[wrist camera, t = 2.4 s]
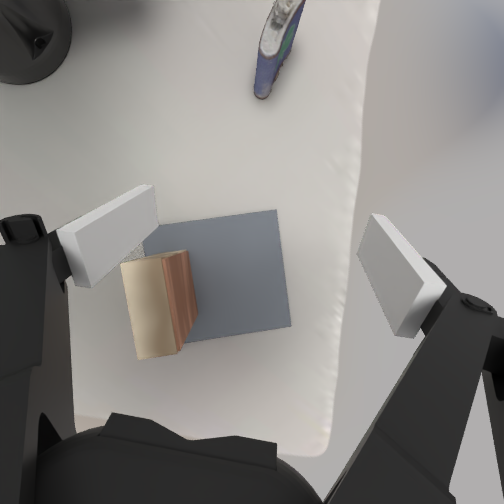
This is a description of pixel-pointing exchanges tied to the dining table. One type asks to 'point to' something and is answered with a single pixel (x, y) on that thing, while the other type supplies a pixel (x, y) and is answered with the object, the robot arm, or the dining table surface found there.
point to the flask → (276, 43)
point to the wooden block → (160, 302)
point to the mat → (230, 272)
